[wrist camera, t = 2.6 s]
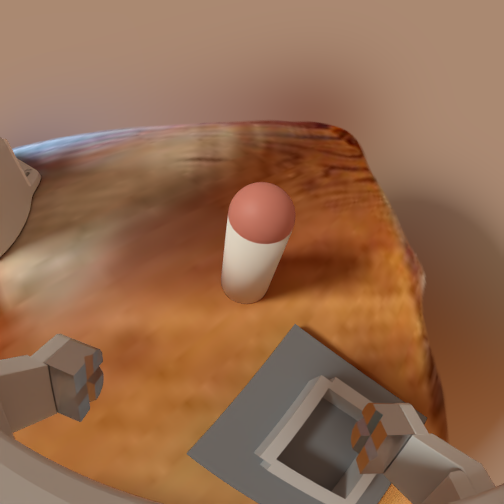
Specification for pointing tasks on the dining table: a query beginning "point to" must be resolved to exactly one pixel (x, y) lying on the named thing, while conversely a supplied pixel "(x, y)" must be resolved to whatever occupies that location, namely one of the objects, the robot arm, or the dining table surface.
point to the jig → (296, 430)
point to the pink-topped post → (255, 240)
